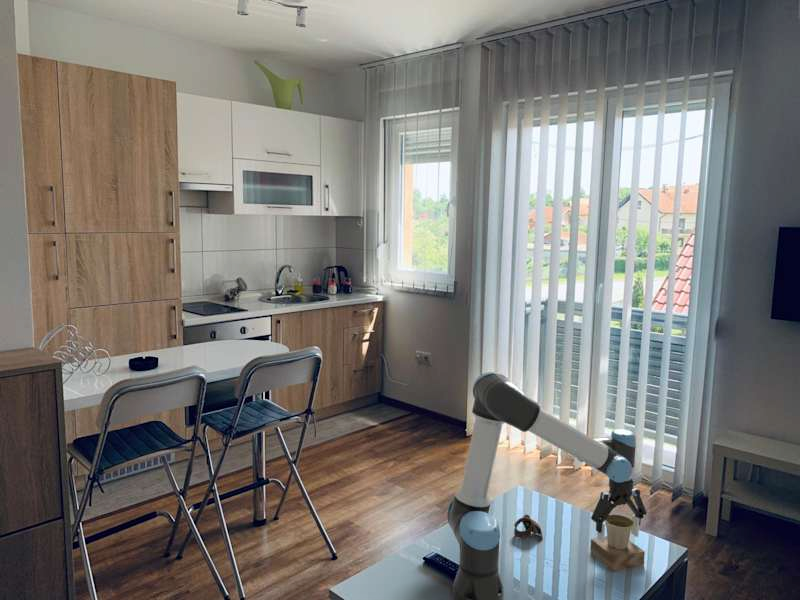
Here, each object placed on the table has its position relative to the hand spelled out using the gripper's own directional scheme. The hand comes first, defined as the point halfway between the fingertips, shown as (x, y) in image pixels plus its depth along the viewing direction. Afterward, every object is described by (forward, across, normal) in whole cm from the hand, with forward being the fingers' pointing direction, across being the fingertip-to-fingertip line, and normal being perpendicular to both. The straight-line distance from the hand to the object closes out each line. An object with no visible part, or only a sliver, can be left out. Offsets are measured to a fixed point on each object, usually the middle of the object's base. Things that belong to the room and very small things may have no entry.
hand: (617, 537), depth 198 cm
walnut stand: (+8, 0, 0) cm, 8 cm away
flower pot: (+3, 0, 0) cm, 3 cm away
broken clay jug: (+8, -21, +22) cm, 31 cm away
